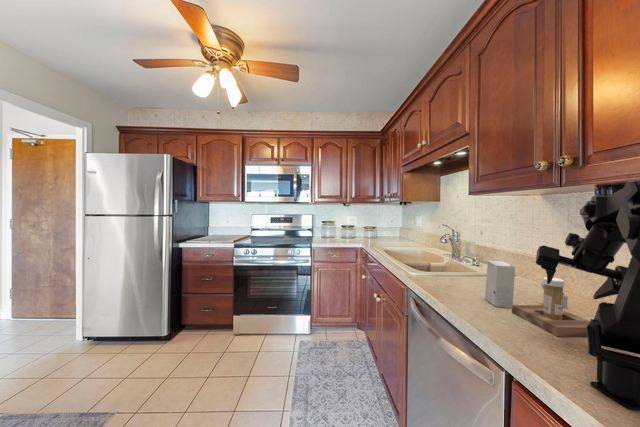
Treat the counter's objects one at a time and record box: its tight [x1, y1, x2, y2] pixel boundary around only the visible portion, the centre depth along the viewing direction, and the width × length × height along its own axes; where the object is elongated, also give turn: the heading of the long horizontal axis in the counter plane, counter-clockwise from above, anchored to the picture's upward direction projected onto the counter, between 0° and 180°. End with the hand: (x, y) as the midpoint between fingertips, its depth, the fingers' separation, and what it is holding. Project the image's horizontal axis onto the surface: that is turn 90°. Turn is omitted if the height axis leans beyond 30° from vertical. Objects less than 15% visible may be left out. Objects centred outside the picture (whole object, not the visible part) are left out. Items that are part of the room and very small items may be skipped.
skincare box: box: [484, 259, 516, 309], centre depth 93 cm, size 8×6×15 cm
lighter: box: [540, 282, 568, 310], centre depth 91 cm, size 7×2×8 cm, turn 65°
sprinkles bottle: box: [542, 276, 565, 320], centre depth 77 cm, size 5×5×14 cm
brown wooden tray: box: [511, 304, 590, 338], centre depth 77 cm, size 16×13×2 cm
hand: (570, 290), depth 68 cm, fingers open, 9 cm apart
